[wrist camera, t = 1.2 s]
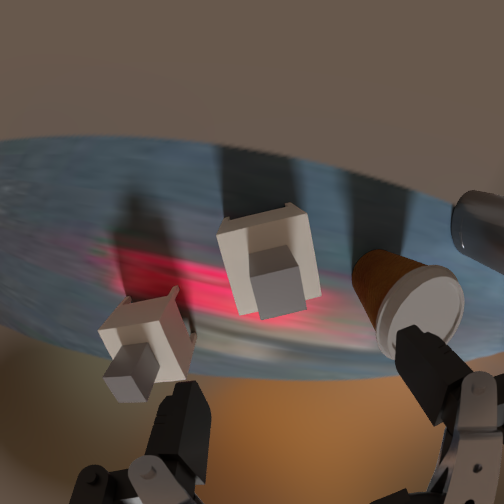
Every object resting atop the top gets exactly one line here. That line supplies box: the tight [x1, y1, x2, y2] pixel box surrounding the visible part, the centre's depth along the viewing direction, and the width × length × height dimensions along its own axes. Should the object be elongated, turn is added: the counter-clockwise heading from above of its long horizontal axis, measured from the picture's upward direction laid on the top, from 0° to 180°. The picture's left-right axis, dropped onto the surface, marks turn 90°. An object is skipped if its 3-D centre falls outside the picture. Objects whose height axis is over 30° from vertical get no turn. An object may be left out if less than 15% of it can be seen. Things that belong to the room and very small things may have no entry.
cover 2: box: [216, 202, 321, 320], centre depth 23 cm, size 7×7×13 cm
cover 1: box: [98, 285, 197, 402], centre depth 25 cm, size 7×7×13 cm
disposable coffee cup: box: [352, 249, 464, 360], centre depth 25 cm, size 10×10×12 cm
